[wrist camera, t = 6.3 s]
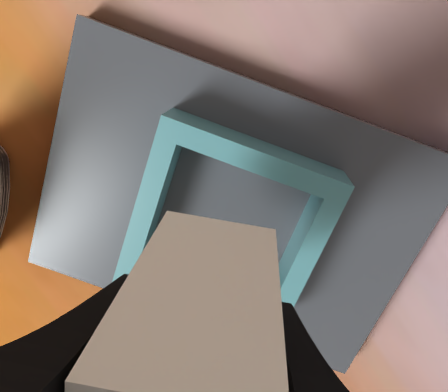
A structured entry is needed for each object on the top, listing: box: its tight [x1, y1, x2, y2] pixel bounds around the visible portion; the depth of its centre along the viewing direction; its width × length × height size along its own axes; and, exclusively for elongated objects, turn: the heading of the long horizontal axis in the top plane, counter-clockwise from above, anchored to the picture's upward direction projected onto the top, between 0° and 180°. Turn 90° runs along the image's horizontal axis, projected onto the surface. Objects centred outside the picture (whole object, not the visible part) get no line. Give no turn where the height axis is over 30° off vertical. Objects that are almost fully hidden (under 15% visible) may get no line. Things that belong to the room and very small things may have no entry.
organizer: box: [28, 14, 448, 374], centre depth 21 cm, size 20×14×4 cm
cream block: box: [65, 211, 289, 392], centre depth 11 cm, size 4×4×8 cm
